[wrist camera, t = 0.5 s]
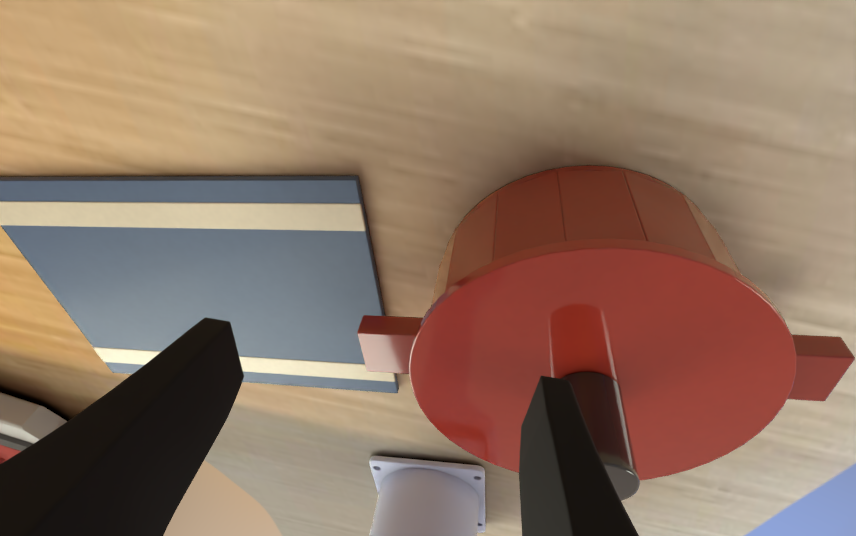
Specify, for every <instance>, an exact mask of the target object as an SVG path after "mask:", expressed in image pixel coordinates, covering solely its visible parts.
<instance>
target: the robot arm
mask: <svg viewBox="0 0 856 536" xmlns="http://www.w3.org/2000/svg"><path fill="white" fill-rule="evenodd" d="M243 378H244V374H243V370H242V366H241V362H240V358H239V354H238V350H237V346H236V342H235V338H234V334H233V331H232V327H231V323H230V322H229V321H224V320H218V319H212V318H206V317H205V318H203V319H202V320H201V321H199V322H198V323H197V324H196V325H194V326H193V327H192V328H190V329H189V330H188V331H187V332H185V333H184V334H183V335H182V336H180V337H179V338H178V339H177V340H175V341H174V342H173V343H172V344H170V345H169V346H168V347H167V348H165V349H164V350H163V351H162V352H160V353H159V354H158V355H157V356H155V357H154V358H153V359H152V360H150V361H149V362H148V363H146V364H145V365H144V366H143V367H141V368H140V369H139V370H137V371H136V372H135V373H133V374H132V375H131V376H129V377H128V378H127V379H126V380H124V381H123V382H122V383H120V384H119V385H118V386H116V387H115V388H114V389H112V390H111V391H110V392H108V393H107V394H106V395H104V396H103V397H101V398H100V399H99V400H97V401H96V402H94V403H93V404H91V405H90V406H89V407H87V408H86V409H84V410H83V411H82V412H80V413H79V414H77V415H76V416H75V417H73V418H72V419H70V420H69V421H67V422H66V423H64V424H63V425H61V426H60V427H58V428H57V429H55V430H54V431H52V432H51V433H49V434H48V435H46V436H45V437H43V438H42V439H40V440H39V441H37V442H36V443H34V444H32V445H31V446H29V447H28V448H26V449H24V450H23V451H21V452H20V453H18V454H16V455H15V456H13V457H11V458H10V459H8V460H6V461H5V462H3V463H1V464H0V536H163V534H164V532H165V530H166V528H167V526H168V524H169V522H170V520H171V518H172V516H173V514H174V512H175V510H176V509H177V507H178V505H179V503H180V501H181V500H182V498H183V496H184V494H185V493H186V491H187V489H188V487H189V485H190V484H191V482H192V480H193V478H194V477H195V475H196V473H197V471H198V469H199V468H200V466H201V464H202V462H203V461H204V459H205V457H206V455H207V454H208V452H209V450H210V448H211V446H212V445H213V443H214V441H215V439H216V437H217V436H218V434H219V432H220V430H221V428H222V427H223V425H224V423H225V421H226V419H227V417H228V415H229V413H230V410H231V408H232V406H233V403H234V401H235V399H236V396H237V394H238V391H239V389H240V386H241V383H242V381H243ZM369 465H370V468H371V471H372V475H373V478H374V481H375V485H376V488H377V491H378V495H379V496H378V500H377V505H376V509H375V514H374V518H373V522H372V527H371V531H370V536H477V532H478V533H482V532H485V529H486V518H485V469H484V468H483V467H481V466H478V465H469V464H459V463H448V462H438V461H427V460H417V459H406V458H396V457H385V456H372V457H370V460H369ZM519 481H520V500H521V518H522V536H639V535H638V533H637V532H636V530H635V528H634V526H633V524H632V522H631V520H630V518H629V516H628V514H627V512H626V510H625V508H624V507H623V504H622V502H621V500H620V498H619V496H618V494H617V492H616V490H615V488H614V486H613V484H612V482H611V480H610V477H609V475H608V473H607V471H606V469H605V466H604V464H603V462H602V460H601V458H600V456H599V453H598V451H597V449H596V446H595V444H594V442H593V439H592V437H591V434H590V432H589V429H588V427H587V425H586V422H585V419H584V417H583V414H582V412H581V409H580V406H579V404H578V401H577V398H576V395H575V392H574V389H573V387H572V384H571V383H570V382H569V380H565V379H559V378H553V377H547V376H541V377H540V379H539V382H538V384H537V387H536V390H535V392H534V395H533V397H532V400H531V403H530V405H529V408H528V410H527V413H526V416H525V418H524V421H523V423H522V426H521V441H520V461H519Z"/></svg>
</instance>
